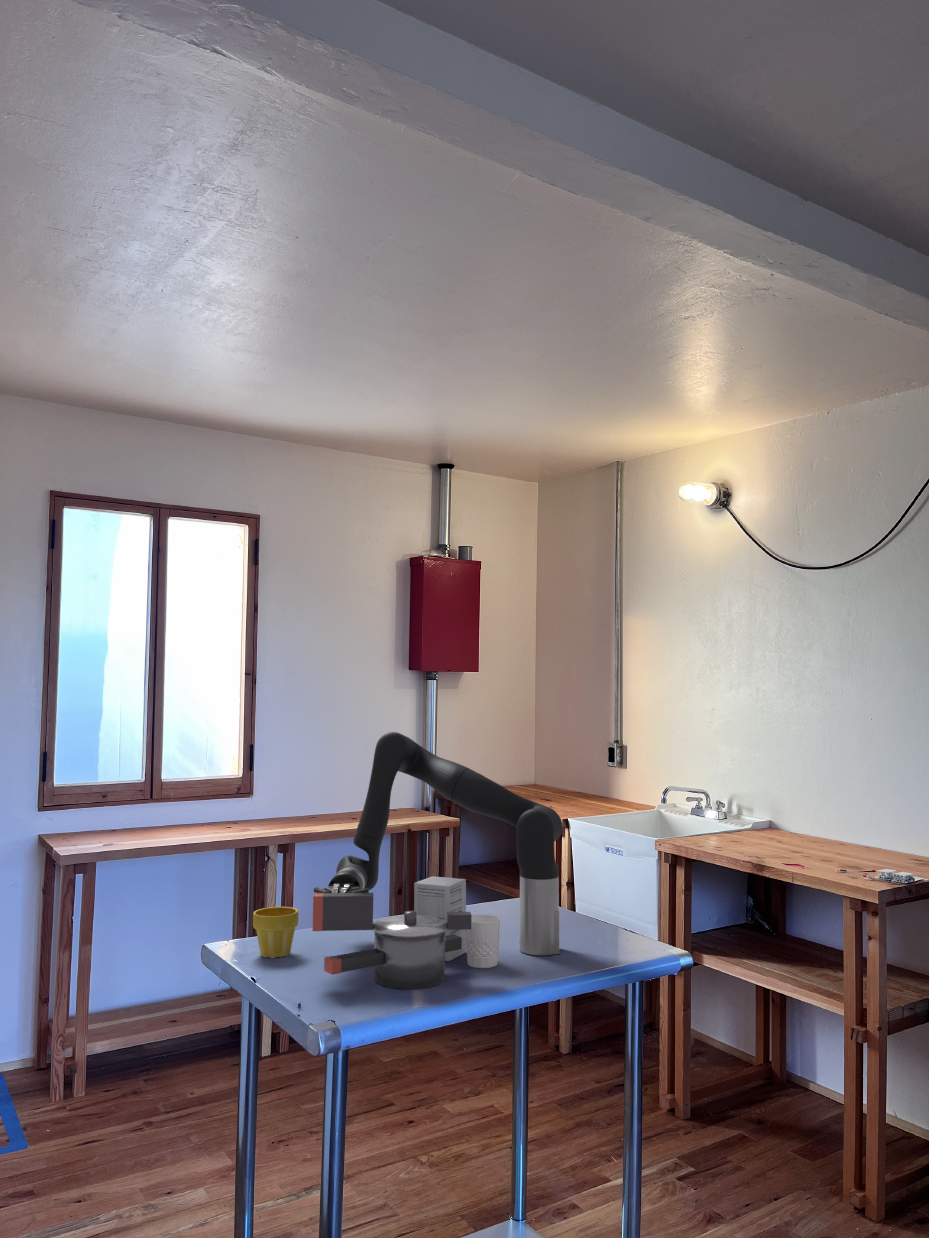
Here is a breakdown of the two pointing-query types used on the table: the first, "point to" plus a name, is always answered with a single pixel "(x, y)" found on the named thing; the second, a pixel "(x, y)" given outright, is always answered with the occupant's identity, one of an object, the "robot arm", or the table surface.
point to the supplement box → (442, 903)
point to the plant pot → (275, 930)
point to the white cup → (483, 941)
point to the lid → (358, 915)
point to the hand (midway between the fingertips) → (334, 902)
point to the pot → (400, 961)
